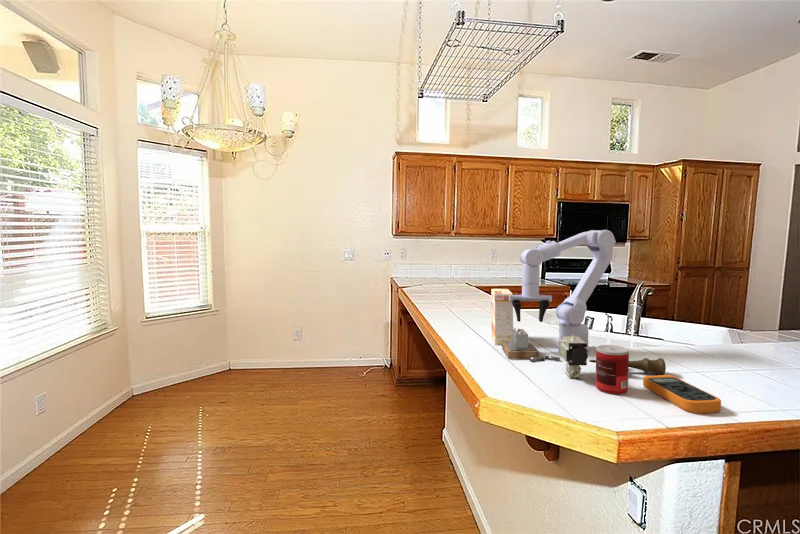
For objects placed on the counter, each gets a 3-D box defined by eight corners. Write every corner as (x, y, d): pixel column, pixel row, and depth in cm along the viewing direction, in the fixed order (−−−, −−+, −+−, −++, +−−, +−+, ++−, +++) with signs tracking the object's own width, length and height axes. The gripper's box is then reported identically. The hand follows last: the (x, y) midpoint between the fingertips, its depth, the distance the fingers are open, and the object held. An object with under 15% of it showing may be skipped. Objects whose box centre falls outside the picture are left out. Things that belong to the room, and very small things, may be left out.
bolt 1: (541, 356, 137) (543, 357, 136) (541, 360, 137) (544, 361, 136) (529, 357, 136) (532, 358, 135) (529, 361, 136) (532, 362, 135)
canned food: (625, 385, 112) (625, 345, 112) (630, 396, 105) (631, 353, 104) (593, 382, 115) (594, 343, 114) (597, 393, 107) (598, 351, 107)
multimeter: (689, 416, 94) (689, 401, 94) (640, 387, 112) (641, 374, 111) (726, 414, 94) (726, 400, 94) (672, 386, 112) (672, 373, 112)
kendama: (669, 382, 116) (591, 375, 121) (658, 372, 125) (586, 366, 130) (670, 361, 115) (592, 355, 121) (659, 352, 125) (587, 347, 130)
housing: (528, 348, 140) (528, 333, 140) (516, 348, 140) (515, 333, 140) (522, 342, 148) (522, 328, 148) (511, 342, 148) (511, 328, 148)
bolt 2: (559, 361, 136) (560, 357, 136) (558, 361, 134) (558, 357, 135) (546, 359, 138) (546, 355, 138) (544, 359, 137) (545, 355, 137)
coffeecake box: (491, 335, 171) (490, 288, 170) (508, 335, 170) (508, 288, 169) (494, 345, 156) (493, 293, 155) (513, 345, 155) (513, 293, 154)
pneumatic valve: (575, 370, 126) (576, 331, 125) (588, 383, 114) (588, 340, 113) (556, 369, 127) (557, 331, 126) (567, 383, 115) (567, 340, 114)
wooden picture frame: (530, 349, 150) (530, 341, 149) (539, 359, 138) (539, 350, 137) (502, 349, 150) (502, 341, 150) (508, 359, 138) (508, 350, 138)
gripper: (548, 282, 150) (547, 319, 151) (507, 281, 151) (506, 318, 152) (554, 284, 143) (553, 323, 144) (511, 284, 144) (510, 322, 145)
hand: (529, 321), depth 148 cm, fingers open, 7 cm apart
